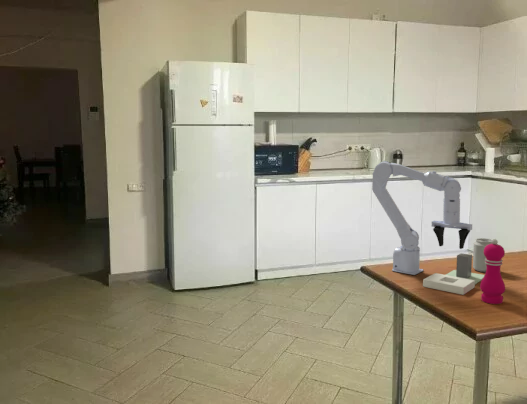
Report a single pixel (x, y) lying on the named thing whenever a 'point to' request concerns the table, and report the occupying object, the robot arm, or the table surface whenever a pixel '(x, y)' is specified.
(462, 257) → the plug
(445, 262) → the table surface
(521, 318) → the table surface
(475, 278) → the mat
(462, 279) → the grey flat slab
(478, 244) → the can
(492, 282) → the pepper mill
